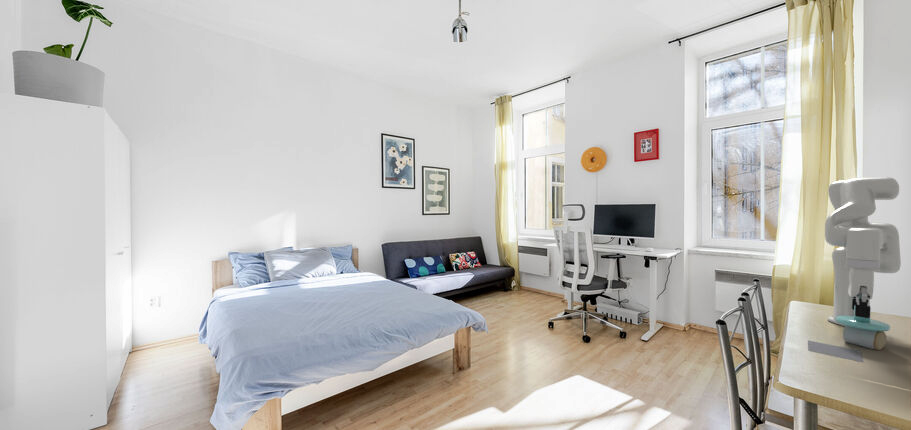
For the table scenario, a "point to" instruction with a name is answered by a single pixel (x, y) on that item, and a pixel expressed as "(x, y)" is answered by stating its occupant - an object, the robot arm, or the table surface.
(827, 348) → the mat
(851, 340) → the ceramic mug
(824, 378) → the table surface
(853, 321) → the lid
